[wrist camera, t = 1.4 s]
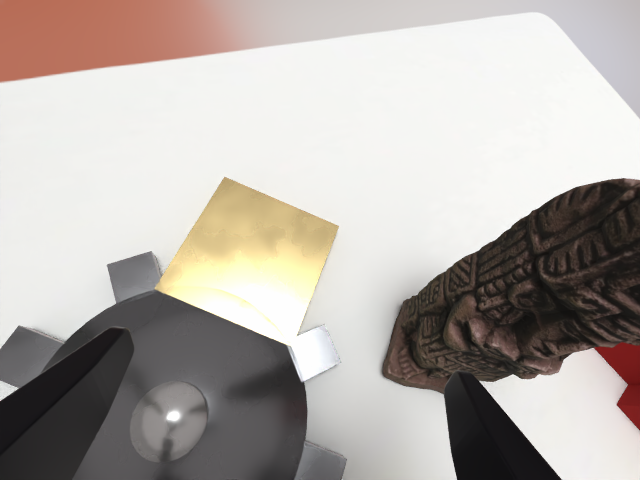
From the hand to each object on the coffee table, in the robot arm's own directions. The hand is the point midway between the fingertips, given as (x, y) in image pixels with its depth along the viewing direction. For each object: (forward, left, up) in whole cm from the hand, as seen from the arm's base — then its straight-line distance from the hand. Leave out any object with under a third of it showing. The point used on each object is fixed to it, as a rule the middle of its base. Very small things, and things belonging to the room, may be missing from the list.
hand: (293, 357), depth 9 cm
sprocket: (+2, +4, -15) cm, 15 cm away
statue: (-3, -12, -15) cm, 19 cm away
